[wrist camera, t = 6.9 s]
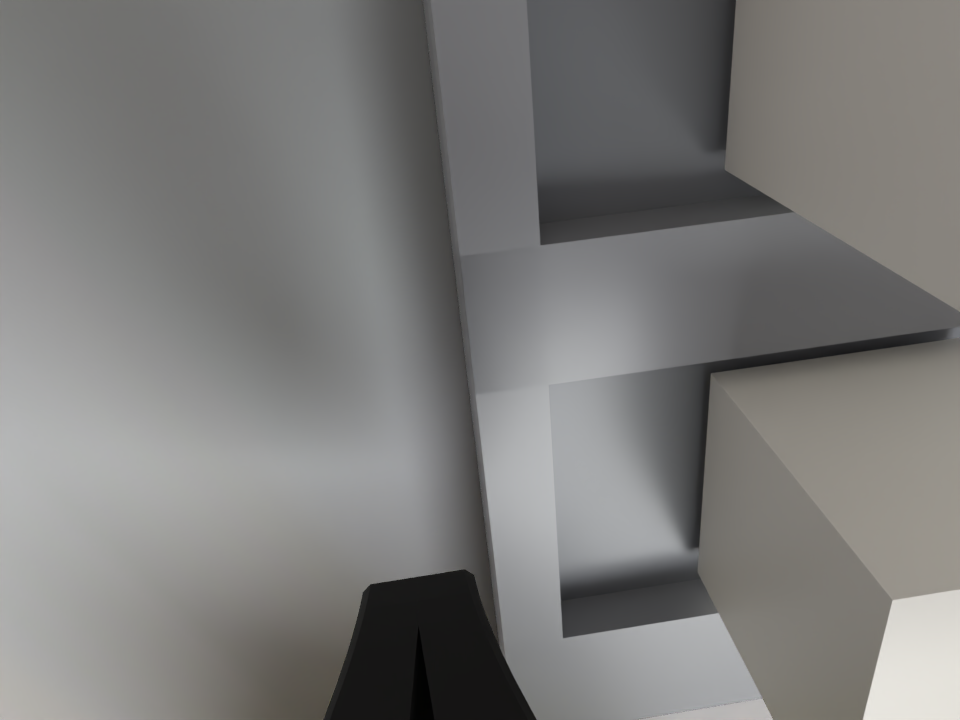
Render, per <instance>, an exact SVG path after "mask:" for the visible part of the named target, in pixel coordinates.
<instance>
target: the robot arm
mask: <svg viewBox="0 0 960 720" xmlns="http://www.w3.org/2000/svg"><path fill="white" fill-rule="evenodd" d="M324 720H537V719H536V717H535V716H534V714H533V712H532V710H531V708H530V706H529V704H528V702H527V701H526V699H525V697H524V695H523V693H522V691H521V689H520V688H519V686H518V684H517V682H516V680H515V678H514V676H513V674H512V672H511V670H510V668H509V666H508V664H507V662H506V660H505V658H504V656H503V654H502V651H501V649H500V647H499V645H498V642H497V640H496V638H495V636H494V634H493V631H492V629H491V626H490V624H489V621H488V619H487V616H486V614H485V611H484V608H483V606H482V603H481V599H480V596H479V593H478V590H477V586H476V582H475V577H474V575H473V574H471V573H470V572H468V571H466V570H459V571H453V572H446V573H440V574H434V575H427V576H421V577H415V578H408V579H402V580H396V581H389V582H383V583H377V584H370V586H369V587H368V588H367V589H366V590H365V591H364V592H363V595H362V600H361V605H360V609H359V613H358V617H357V621H356V625H355V628H354V632H353V636H352V639H351V642H350V646H349V649H348V652H347V655H346V658H345V661H344V664H343V667H342V670H341V673H340V676H339V679H338V682H337V685H336V688H335V691H334V693H333V696H332V699H331V701H330V704H329V707H328V709H327V712H326V715H325V717H324Z"/></svg>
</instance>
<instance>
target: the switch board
mask: <svg viewBox="0 0 960 720" xmlns="http://www.w3.org/2000/svg"><path fill="white" fill-rule="evenodd" d="M423 8H424V16H425V25H426V33H427V42H428V50H429V58H430V67H431V75H432V84H433V92H434V101H435V109H436V117H437V126H438V134H439V143H440V151H441V160H442V168H443V176H444V185H445V193H446V202H447V210H448V219H449V227H450V235H451V244H452V252H453V261H454V269H455V278H456V286H457V294H458V303H459V311H460V320H461V328H462V336H463V345H464V353H465V362H466V370H467V379H468V387H469V395H470V404H471V412H472V421H473V429H474V438H475V446H476V454H477V463H478V471H479V480H480V488H481V497H482V505H483V513H484V522H485V530H486V539H487V547H488V556H489V564H490V572H491V581H492V589H493V598H494V606H495V615H496V623H497V631H498V640H499V647H500V649H501V651H502V654H503V656H504V658H505V660H506V662H507V664H508V666H509V668H510V670H511V672H512V674H513V676H514V678H515V680H516V682H517V684H518V686H519V688H520V689H521V691H522V693H523V695H524V697H525V699H526V701H527V702H528V704H529V706H530V708H531V710H532V712H533V714H534V716H535V717H536V719H537V720H638V719H644V718H650V717H656V716H662V715H668V714H674V713H679V712H685V711H691V710H697V709H703V708H709V707H715V706H721V705H727V704H733V703H739V702H745V701H751V700H756V699H762V696H761V694H760V692H759V691H758V689H757V687H756V685H755V683H754V681H753V679H752V677H751V675H750V673H749V671H748V669H747V667H746V665H745V663H744V661H743V660H742V658H741V656H740V654H739V652H738V650H737V648H736V646H735V644H734V642H733V640H732V638H731V636H730V634H729V632H728V630H727V629H726V627H725V625H724V623H723V621H722V619H721V617H720V615H719V613H718V611H717V609H716V607H715V605H714V603H713V601H712V600H711V598H710V596H709V594H708V592H707V590H706V588H705V586H704V584H703V582H702V580H701V578H700V576H699V574H698V557H699V542H700V528H701V513H702V498H703V483H704V468H705V453H706V439H707V424H708V409H709V394H710V379H711V373H716V372H723V371H730V370H737V369H744V368H751V367H758V366H765V365H772V364H779V363H786V362H793V361H800V360H807V359H814V358H821V357H828V356H835V355H842V354H849V353H856V352H863V351H870V350H877V349H884V348H891V347H898V346H905V345H912V344H919V343H926V342H933V341H940V340H947V339H954V338H960V312H959V311H958V310H956V309H954V308H953V307H951V306H950V305H948V304H946V303H945V302H943V301H941V300H940V299H938V298H936V297H935V296H933V295H931V294H930V293H928V292H926V291H925V290H923V289H921V288H920V287H918V286H916V285H915V284H913V283H911V282H910V281H908V280H906V279H905V278H903V277H901V276H900V275H898V274H896V273H895V272H893V271H892V270H890V269H888V268H887V267H885V266H883V265H882V264H880V263H878V262H877V261H875V260H873V259H872V258H870V257H868V256H867V255H865V254H863V253H862V252H860V251H858V250H857V249H855V248H853V247H852V246H850V245H848V244H847V243H845V242H843V241H842V240H840V239H838V238H837V237H835V236H833V235H832V234H830V233H829V232H827V231H825V230H824V229H822V228H820V227H819V226H817V225H815V224H814V223H812V222H810V221H809V220H807V219H805V218H804V217H802V216H800V215H799V214H797V213H795V212H794V211H792V210H790V209H789V208H787V207H785V206H784V205H782V204H780V203H779V202H777V201H775V200H774V199H772V198H771V197H769V196H767V195H766V194H764V193H762V192H761V191H759V190H757V189H756V188H754V187H752V186H751V185H749V184H747V183H746V182H744V181H742V180H741V179H739V178H737V177H736V176H734V175H732V174H731V173H729V172H727V171H726V170H725V157H726V142H727V127H728V112H729V97H730V82H731V68H732V53H733V38H734V23H735V8H736V0H423Z"/></svg>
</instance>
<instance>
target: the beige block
mask: <svg viewBox="0 0 960 720" xmlns="http://www.w3.org/2000/svg"><path fill="white" fill-rule="evenodd" d="M725 170H726V171H727V172H729V173H731V174H732V175H734V176H736V177H737V178H739V179H741V180H742V181H744V182H746V183H747V184H749V185H751V186H752V187H754V188H756V189H757V190H759V191H761V192H762V193H764V194H766V195H767V196H769V197H771V198H772V199H774V200H775V201H777V202H779V203H780V204H782V205H784V206H785V207H787V208H789V209H790V210H792V211H794V212H795V213H797V214H799V215H800V216H802V217H804V218H805V219H807V220H809V221H810V222H812V223H814V224H815V225H817V226H819V227H820V228H822V229H824V230H825V231H827V232H829V233H830V234H832V235H833V236H835V237H837V238H838V239H840V240H842V241H843V242H845V243H847V244H848V245H850V246H852V247H853V248H855V249H857V250H858V251H860V252H862V253H863V254H865V255H867V256H868V257H870V258H872V259H873V260H875V261H877V262H878V263H880V264H882V265H883V266H885V267H887V268H888V269H890V270H892V271H893V272H895V273H896V274H898V275H900V276H901V277H903V278H905V279H906V280H908V281H910V282H911V283H913V284H915V285H916V286H918V287H920V288H921V289H923V290H925V291H926V292H928V293H930V294H931V295H933V296H935V297H936V298H938V299H940V300H941V301H943V302H945V303H946V304H948V305H950V306H951V307H953V308H954V309H956V310H958V311H959V312H960V0H736V8H735V23H734V38H733V53H732V68H731V82H730V97H729V112H728V127H727V142H726V157H725Z"/></svg>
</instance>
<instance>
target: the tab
mask: <svg viewBox="0 0 960 720" xmlns="http://www.w3.org/2000/svg"><path fill="white" fill-rule="evenodd" d="M698 574H699V576H700V578H701V580H702V582H703V584H704V586H705V588H706V590H707V592H708V594H709V596H710V598H711V600H712V601H713V603H714V605H715V607H716V609H717V611H718V613H719V615H720V617H721V619H722V621H723V623H724V625H725V627H726V629H727V630H728V632H729V634H730V636H731V638H732V640H733V642H734V644H735V646H736V648H737V650H738V652H739V654H740V656H741V658H742V660H743V661H744V663H745V665H746V667H747V669H748V671H749V673H750V675H751V677H752V679H753V681H754V683H755V685H756V687H757V689H758V691H759V692H760V694H761V696H762V698H763V700H764V702H765V704H766V706H767V708H768V710H769V712H770V714H771V716H772V718H773V720H960V338H954V339H947V340H940V341H933V342H926V343H919V344H912V345H905V346H898V347H891V348H884V349H877V350H870V351H863V352H856V353H849V354H842V355H835V356H828V357H821V358H814V359H807V360H800V361H793V362H786V363H779V364H772V365H765V366H758V367H751V368H744V369H737V370H730V371H723V372H716V373H711V379H710V394H709V409H708V424H707V439H706V453H705V468H704V483H703V498H702V513H701V528H700V542H699V557H698Z"/></svg>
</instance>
